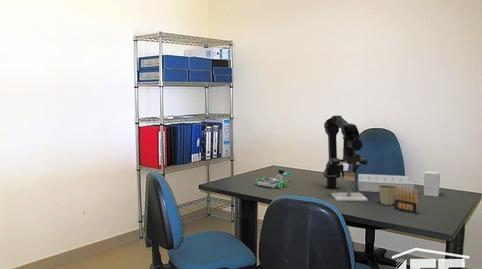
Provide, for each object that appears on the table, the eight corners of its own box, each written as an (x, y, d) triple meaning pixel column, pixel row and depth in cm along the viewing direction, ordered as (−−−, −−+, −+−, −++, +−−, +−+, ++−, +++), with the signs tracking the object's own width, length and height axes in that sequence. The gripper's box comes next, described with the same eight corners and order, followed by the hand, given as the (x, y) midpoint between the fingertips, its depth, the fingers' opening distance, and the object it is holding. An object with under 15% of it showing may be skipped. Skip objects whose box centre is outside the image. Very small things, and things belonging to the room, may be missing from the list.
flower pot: (373, 202, 214) (373, 185, 213) (388, 200, 217) (388, 184, 216) (385, 206, 205) (386, 189, 204) (400, 205, 208) (401, 188, 207)
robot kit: (300, 183, 259) (300, 168, 258) (276, 190, 240) (277, 174, 239) (275, 179, 271) (275, 165, 270) (251, 186, 252) (251, 171, 251)
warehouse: (358, 191, 239) (358, 178, 238) (357, 186, 253) (358, 173, 252) (414, 194, 232) (414, 181, 231) (410, 188, 246) (410, 176, 245)
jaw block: (341, 177, 226) (341, 170, 225) (351, 177, 226) (351, 170, 225) (344, 180, 219) (345, 172, 218) (354, 180, 219) (354, 172, 218)
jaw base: (331, 194, 230) (331, 187, 229) (360, 194, 230) (360, 187, 230) (336, 200, 217) (336, 193, 216) (367, 200, 217) (367, 193, 217)
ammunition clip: (417, 213, 194) (419, 188, 193) (416, 214, 193) (417, 188, 192) (395, 208, 202) (396, 184, 200) (394, 209, 200) (395, 185, 199)
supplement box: (439, 194, 231) (440, 171, 229) (438, 197, 224) (439, 174, 223) (424, 192, 234) (425, 170, 233) (423, 195, 228) (424, 172, 227)
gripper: (334, 150, 213) (333, 180, 214) (371, 150, 213) (370, 180, 214) (330, 147, 224) (329, 176, 225) (364, 147, 224) (363, 176, 225)
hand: (348, 177), depth 222 cm, fingers closed on jaw block, 5 cm apart
